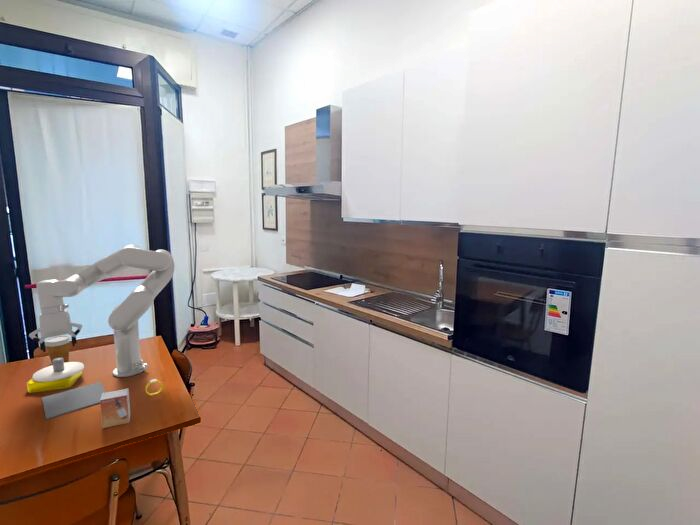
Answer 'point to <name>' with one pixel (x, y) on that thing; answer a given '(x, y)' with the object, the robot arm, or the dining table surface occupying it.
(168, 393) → the dining table surface
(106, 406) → the small box
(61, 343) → the disposable coffee cup
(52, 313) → the robot arm
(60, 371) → the lid
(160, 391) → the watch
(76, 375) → the element tile
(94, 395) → the mat
